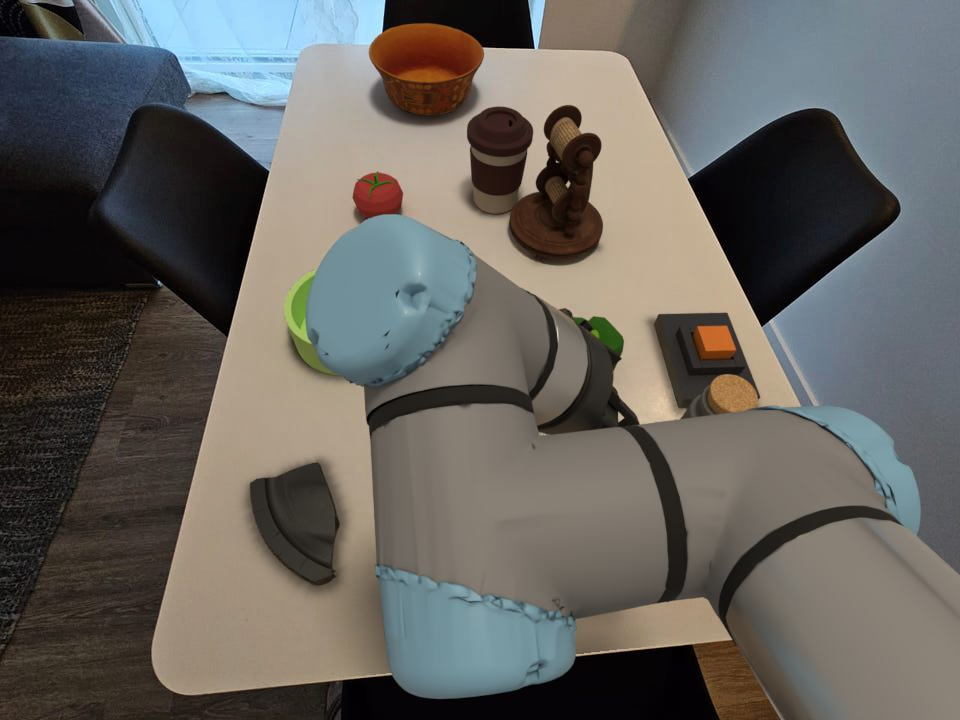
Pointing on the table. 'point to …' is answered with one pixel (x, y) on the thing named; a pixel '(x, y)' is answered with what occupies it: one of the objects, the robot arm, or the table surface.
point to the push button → (696, 354)
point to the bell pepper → (605, 333)
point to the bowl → (426, 66)
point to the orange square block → (714, 342)
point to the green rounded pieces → (302, 321)
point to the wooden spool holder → (561, 193)
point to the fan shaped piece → (298, 520)
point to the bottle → (723, 397)
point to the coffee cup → (498, 157)
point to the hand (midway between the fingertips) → (648, 420)
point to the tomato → (377, 195)
